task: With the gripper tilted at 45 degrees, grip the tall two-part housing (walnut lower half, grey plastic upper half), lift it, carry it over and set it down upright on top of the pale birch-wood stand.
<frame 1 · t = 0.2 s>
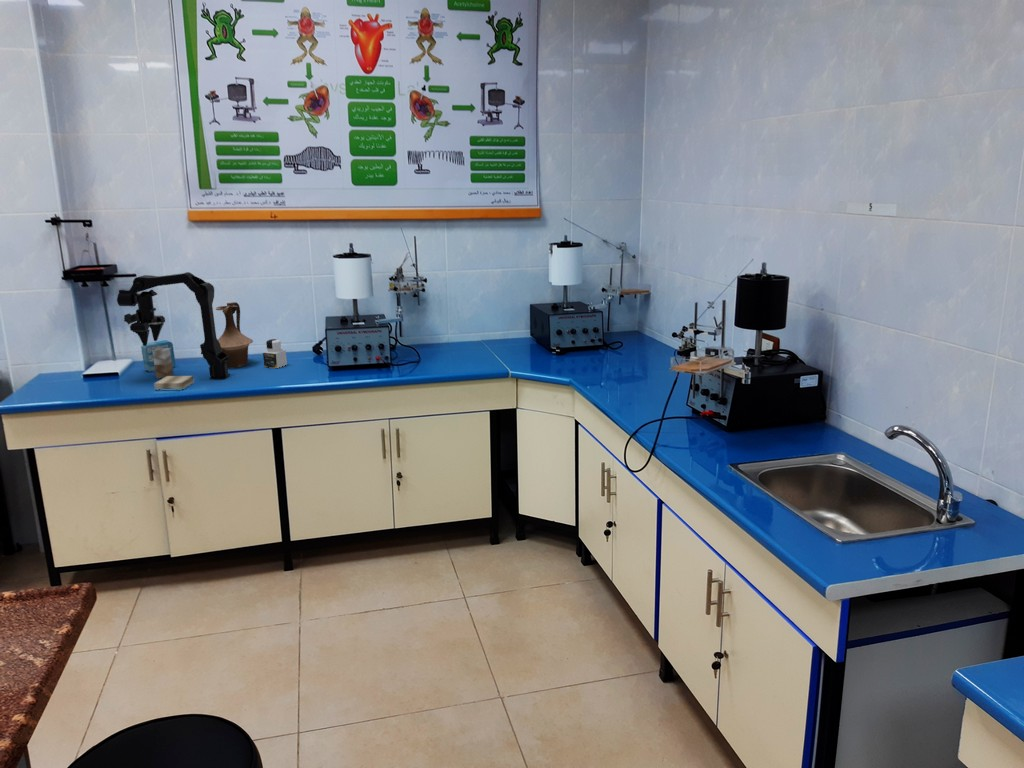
hand: (150, 343, 320), 15 cm above the countertop, tool pointing down, fingers open, 9 cm apart
data package: (160, 369, 338), on the countertop
medicine bottle: (275, 366, 341), on the countertop
two-part housing: (164, 376, 325), on the countertop
birch stand: (174, 386, 311), on the countertop
pitcher: (235, 365, 344), on the countertop
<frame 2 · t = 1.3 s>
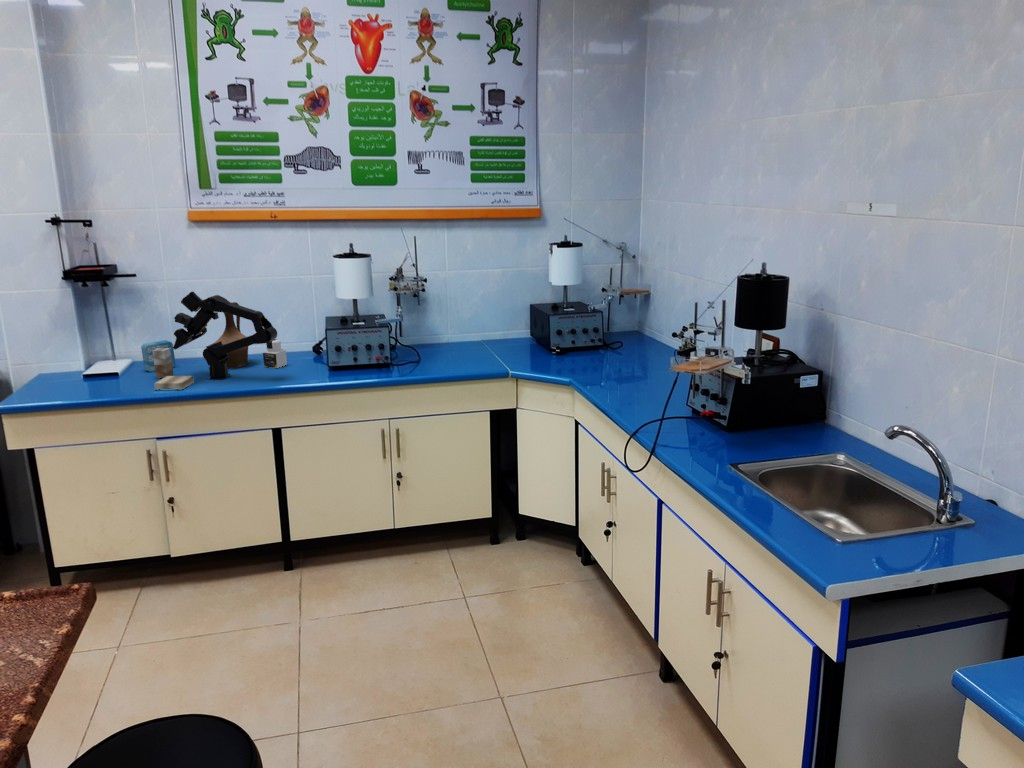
hand: (179, 346, 321), 13 cm above the countertop, tool tilted 45°, fingers open, 9 cm apart
nothing on the countertop moved.
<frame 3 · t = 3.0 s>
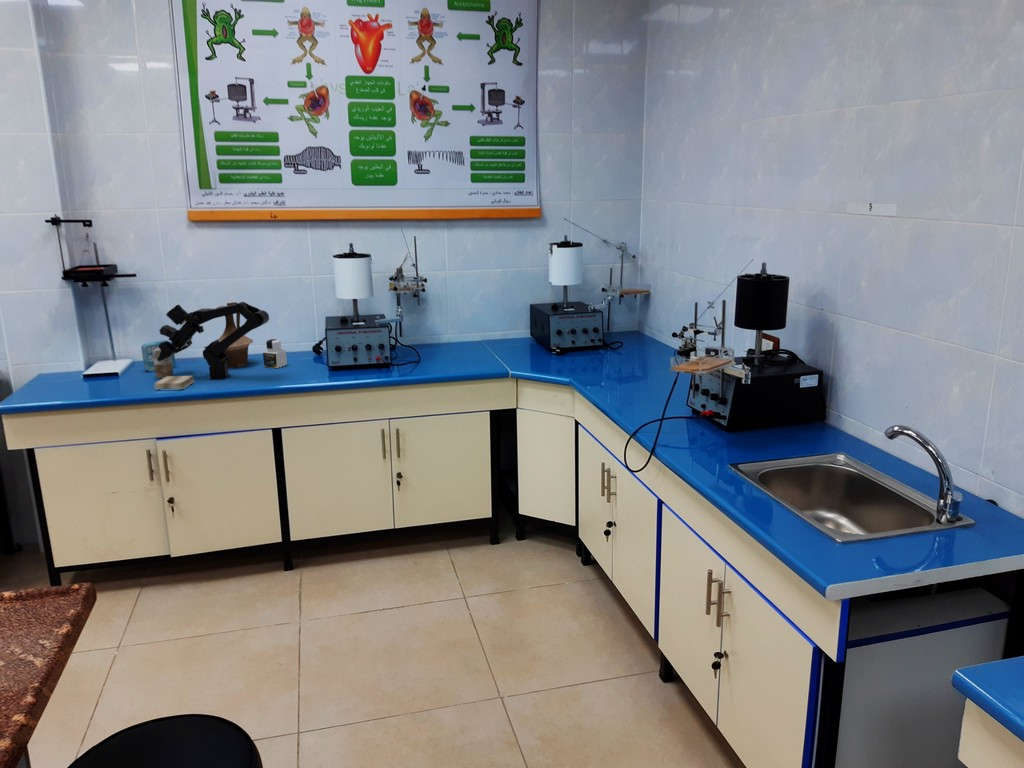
hand: (163, 358, 323), 8 cm above the countertop, tool tilted 45°, fingers open, 9 cm apart
nothing on the countertop moved.
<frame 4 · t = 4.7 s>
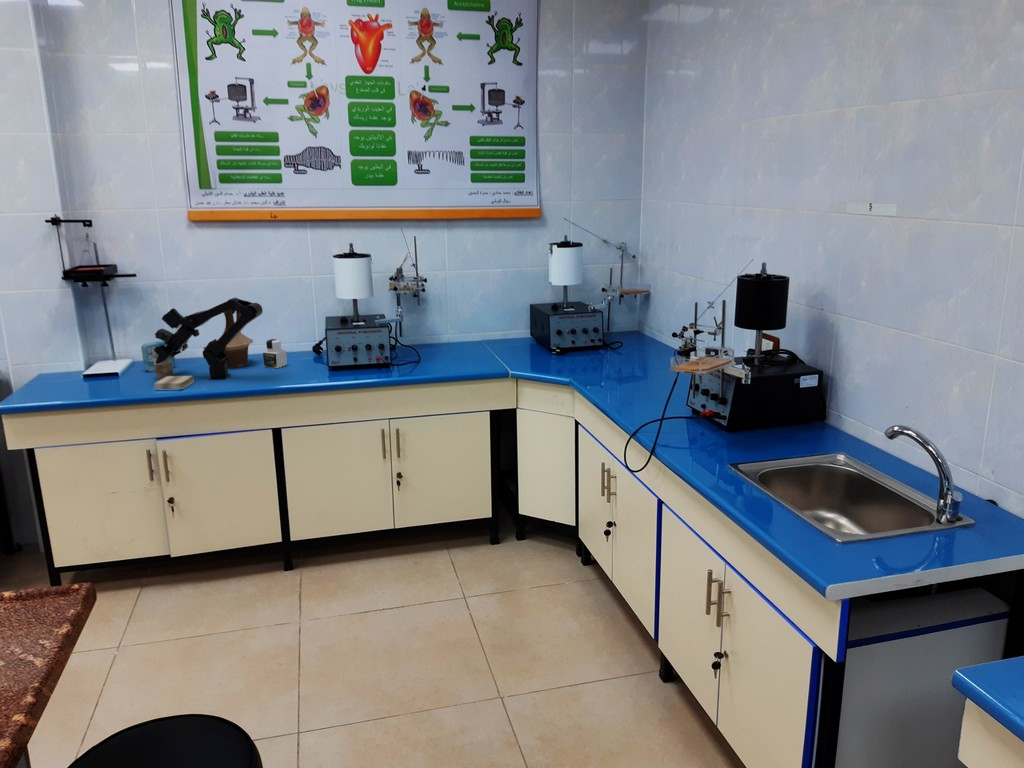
hand: (159, 361, 323), 7 cm above the countertop, tool tilted 45°, fingers closed on two-part housing, 5 cm apart
two-part housing: (164, 376, 325), on the countertop, touching gripper
everything else where it was.
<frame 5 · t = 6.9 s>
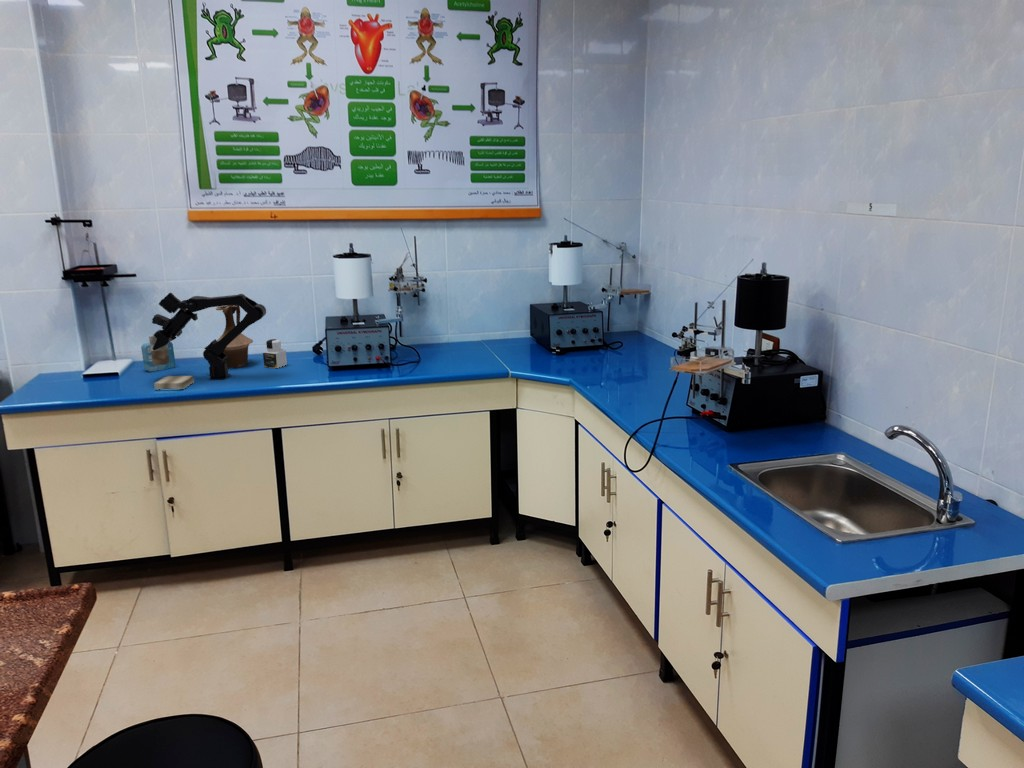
hand: (155, 348, 318), 14 cm above the countertop, tool tilted 45°, fingers closed on two-part housing, 5 cm apart
two-part housing: (161, 363, 320), point 7 cm above the countertop, touching gripper
everything else where it was.
when the fingers open (11 cm above the countertop, at t = 9.5 s): two-part housing drops 1 cm, resting on birch stand.
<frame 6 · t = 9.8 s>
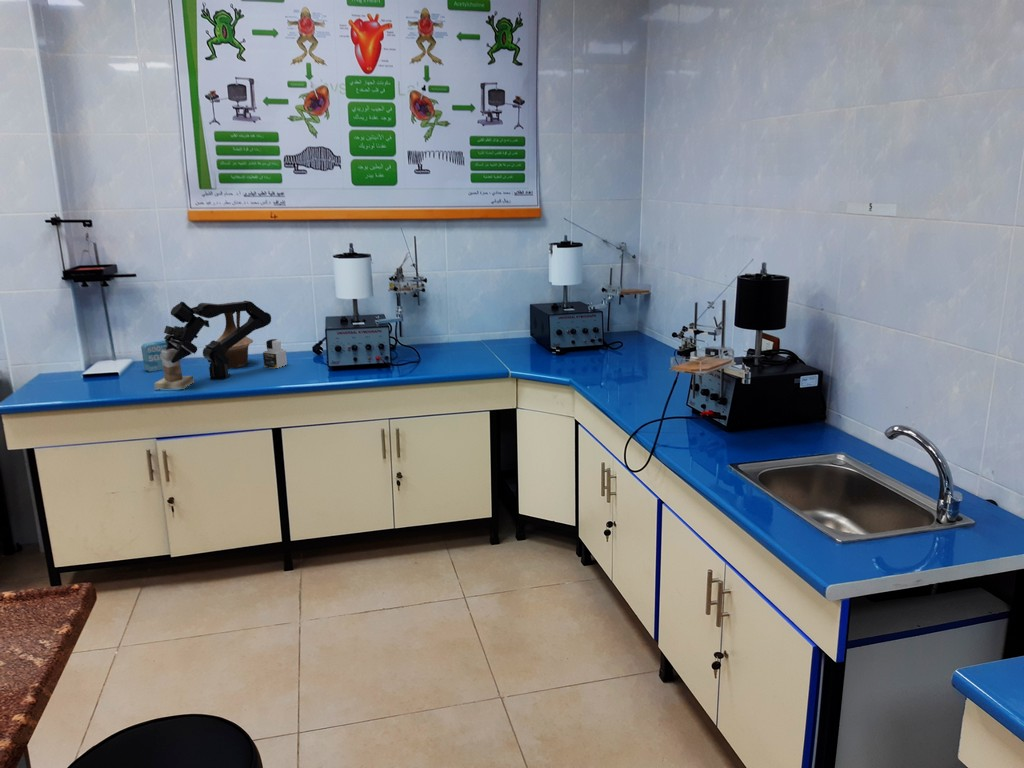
hand: (167, 360, 307), 11 cm above the countertop, tool tilted 45°, fingers open, 8 cm apart
two-part housing: (173, 379, 310), point 3 cm above the countertop, touching birch stand
everything else where it was.
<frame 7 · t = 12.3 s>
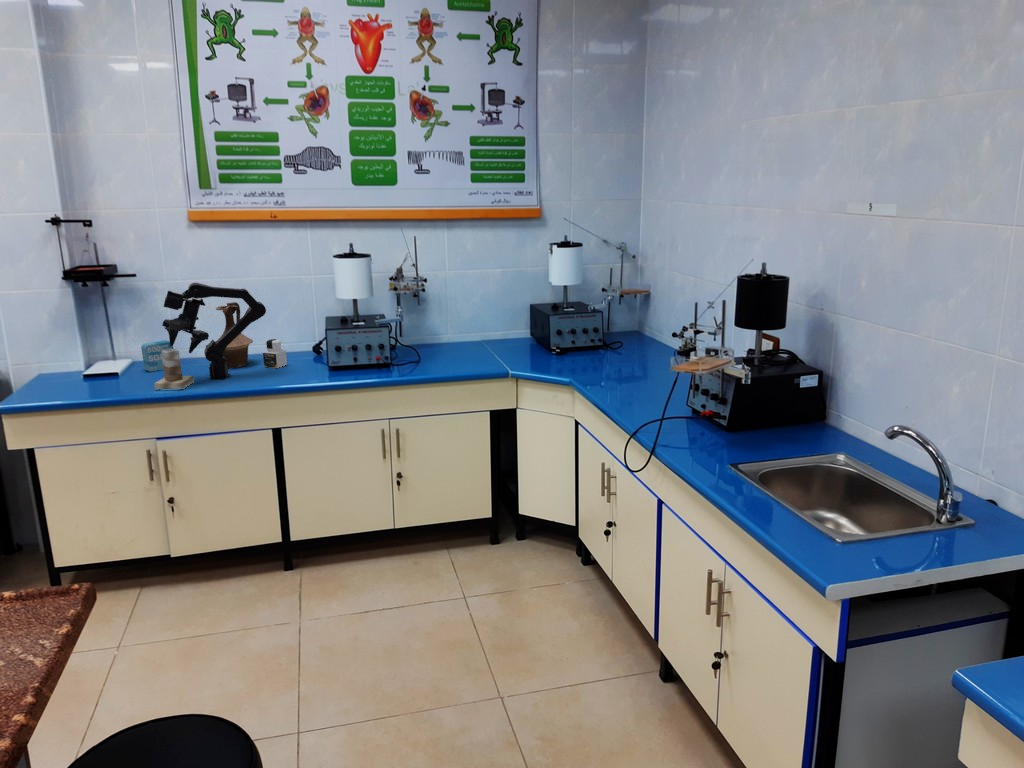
hand: (180, 349, 315), 14 cm above the countertop, tool tilted 20°, fingers open, 9 cm apart
nothing on the countertop moved.
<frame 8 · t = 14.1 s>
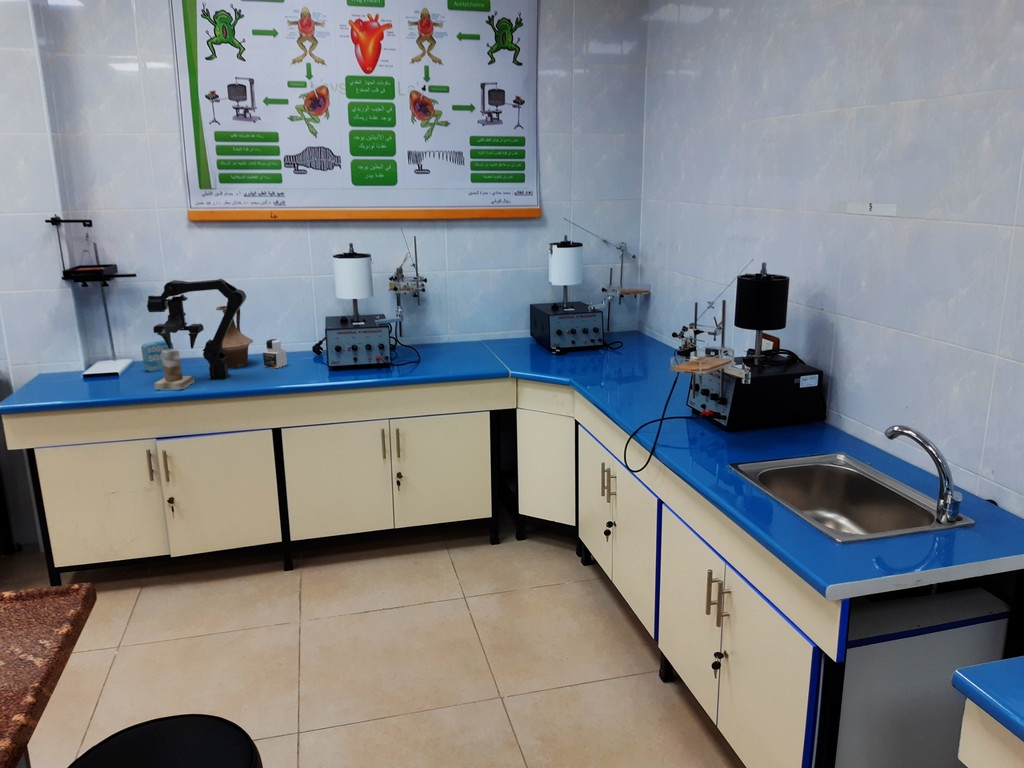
hand: (181, 348, 319), 13 cm above the countertop, tool pointing down, fingers open, 9 cm apart
nothing on the countertop moved.
at the end: two-part housing inside the target area on the birch stand (0.0 cm from its centre), point 3.0 cm above the birch stand's base; two-part housing tilted 0°; the gripper is holding nothing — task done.
